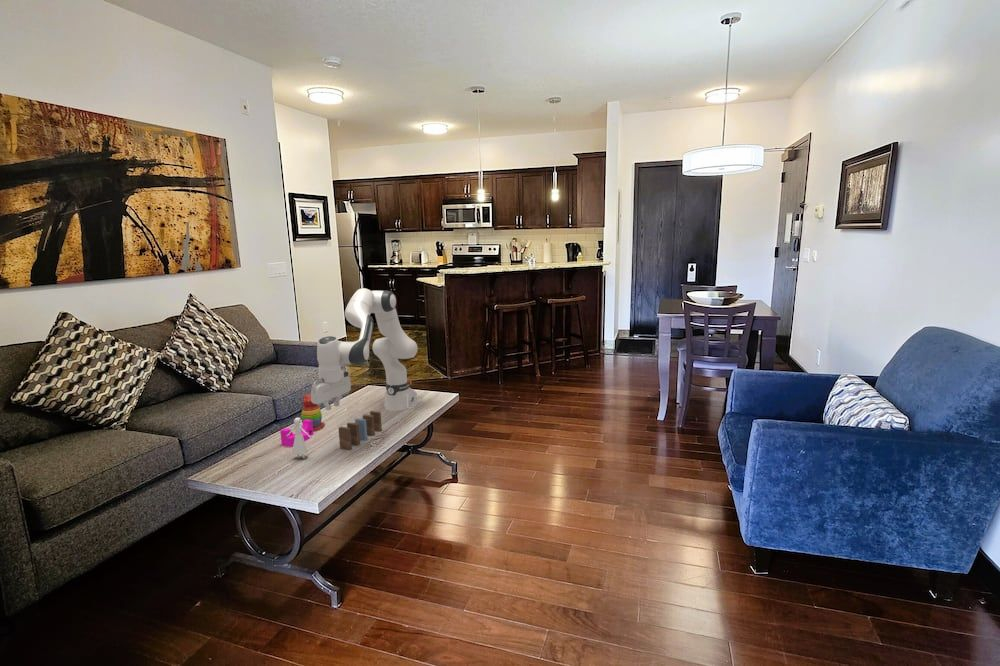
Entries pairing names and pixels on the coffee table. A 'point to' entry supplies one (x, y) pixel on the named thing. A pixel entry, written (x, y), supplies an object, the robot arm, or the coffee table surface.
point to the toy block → (290, 438)
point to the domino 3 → (362, 428)
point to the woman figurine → (299, 439)
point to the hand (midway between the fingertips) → (332, 407)
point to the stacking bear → (312, 413)
